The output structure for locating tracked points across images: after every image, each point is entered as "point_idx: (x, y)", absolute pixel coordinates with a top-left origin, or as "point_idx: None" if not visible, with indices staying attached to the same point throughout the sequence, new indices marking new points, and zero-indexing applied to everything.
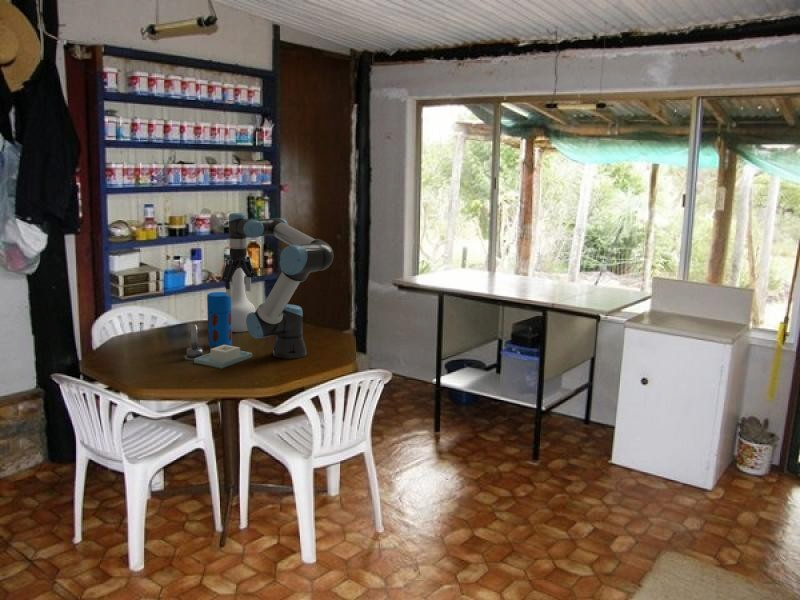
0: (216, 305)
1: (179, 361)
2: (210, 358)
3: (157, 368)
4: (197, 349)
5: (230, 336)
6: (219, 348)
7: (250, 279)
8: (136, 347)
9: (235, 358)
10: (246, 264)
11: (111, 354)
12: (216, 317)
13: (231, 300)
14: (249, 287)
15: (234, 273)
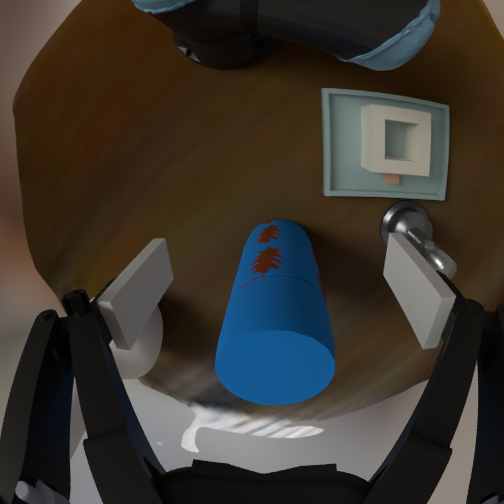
0: (327, 320)
1: (440, 235)
2: (402, 180)
3: (485, 237)
4: (415, 226)
5: (268, 230)
6: (405, 161)
7: (111, 291)
8: (379, 368)
9: (395, 98)
10: (59, 450)
11: (429, 361)
12: (321, 288)
13: (123, 371)
14: (154, 257)
15: (78, 431)
